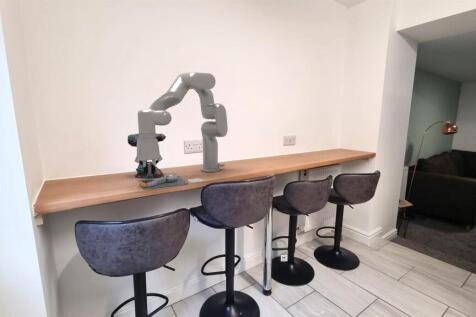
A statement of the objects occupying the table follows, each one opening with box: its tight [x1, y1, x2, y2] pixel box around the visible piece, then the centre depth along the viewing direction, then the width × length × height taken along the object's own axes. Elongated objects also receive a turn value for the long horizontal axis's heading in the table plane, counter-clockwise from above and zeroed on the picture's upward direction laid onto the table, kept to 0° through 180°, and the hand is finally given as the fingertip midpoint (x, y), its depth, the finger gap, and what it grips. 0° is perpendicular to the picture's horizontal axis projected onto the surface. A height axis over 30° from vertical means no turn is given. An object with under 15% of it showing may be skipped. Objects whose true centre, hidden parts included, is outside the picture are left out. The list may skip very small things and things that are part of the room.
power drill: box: [127, 132, 167, 179], centre depth 135 cm, size 9×23×25 cm, turn 79°
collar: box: [138, 172, 178, 187], centre depth 123 cm, size 19×7×4 cm, turn 136°
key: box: [146, 161, 153, 179], centre depth 117 cm, size 3×3×8 cm
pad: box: [186, 177, 204, 184], centre depth 129 cm, size 7×7×1 cm
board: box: [137, 175, 190, 191], centre depth 126 cm, size 22×19×1 cm
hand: (149, 173), depth 117 cm, fingers closed on key, 2 cm apart
